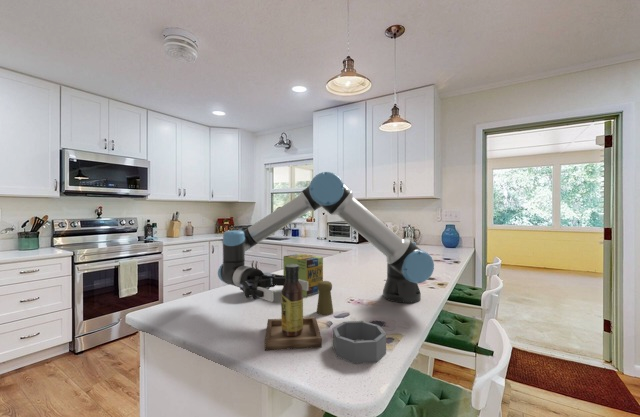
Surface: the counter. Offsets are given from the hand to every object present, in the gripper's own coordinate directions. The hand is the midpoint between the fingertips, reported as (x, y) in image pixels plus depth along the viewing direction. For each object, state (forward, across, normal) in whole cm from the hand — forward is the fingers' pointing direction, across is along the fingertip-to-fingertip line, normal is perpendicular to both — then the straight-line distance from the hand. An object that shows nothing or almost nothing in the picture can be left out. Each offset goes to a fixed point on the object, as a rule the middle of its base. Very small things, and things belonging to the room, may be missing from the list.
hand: (291, 291), depth 84 cm
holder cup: (+19, -7, -13) cm, 24 cm away
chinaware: (-42, -17, -14) cm, 47 cm away
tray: (0, 0, -13) cm, 13 cm away
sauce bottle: (0, 0, -12) cm, 12 cm away
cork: (-6, -21, -13) cm, 26 cm away
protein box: (-30, -34, -14) cm, 47 cm away
